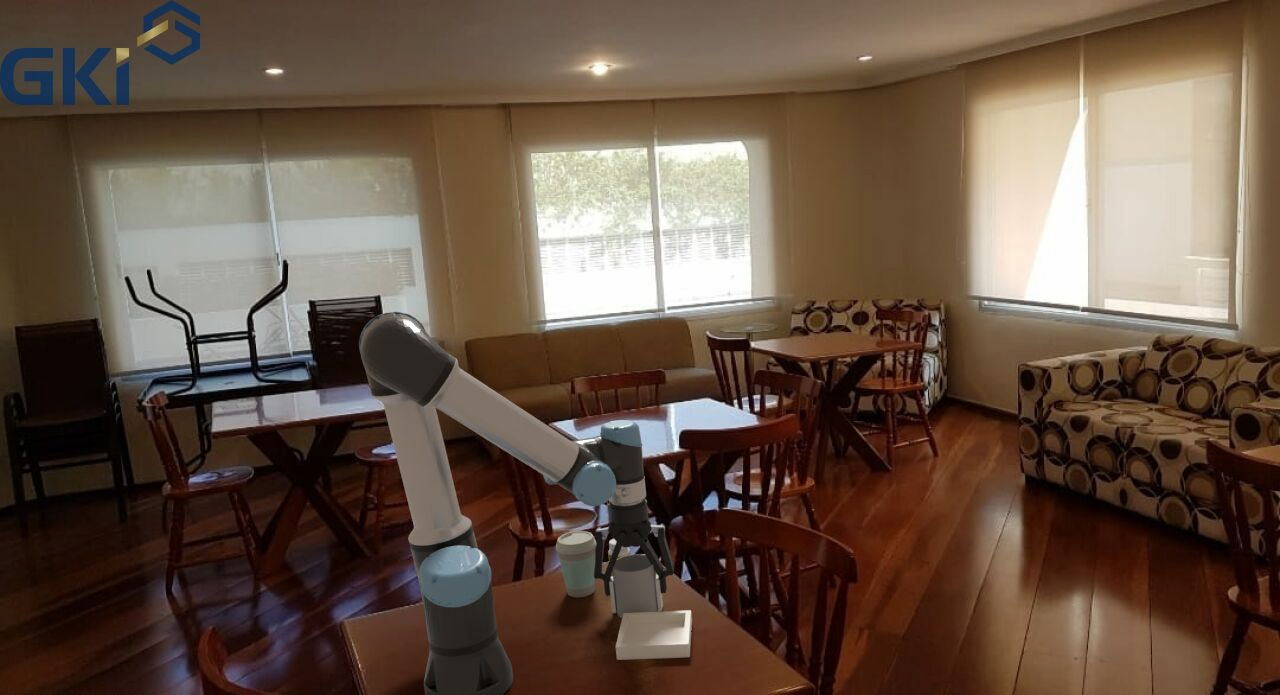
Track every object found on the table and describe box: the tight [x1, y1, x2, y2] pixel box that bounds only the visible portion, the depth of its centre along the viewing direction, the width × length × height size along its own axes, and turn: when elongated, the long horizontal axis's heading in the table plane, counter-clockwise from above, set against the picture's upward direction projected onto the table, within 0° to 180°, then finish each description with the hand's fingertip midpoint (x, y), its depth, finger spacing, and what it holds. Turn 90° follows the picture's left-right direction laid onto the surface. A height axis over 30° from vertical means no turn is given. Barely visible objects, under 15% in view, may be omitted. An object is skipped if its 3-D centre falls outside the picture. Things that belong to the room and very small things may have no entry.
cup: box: [613, 554, 659, 619], centre depth 179 cm, size 8×8×10 cm
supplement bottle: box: [607, 538, 632, 576], centre depth 195 cm, size 5×5×8 cm
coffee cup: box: [555, 530, 597, 598], centre depth 190 cm, size 8×8×12 cm
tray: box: [615, 609, 693, 661], centre depth 167 cm, size 13×13×2 cm
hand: (637, 608), depth 179 cm, fingers closed on cup, 8 cm apart
